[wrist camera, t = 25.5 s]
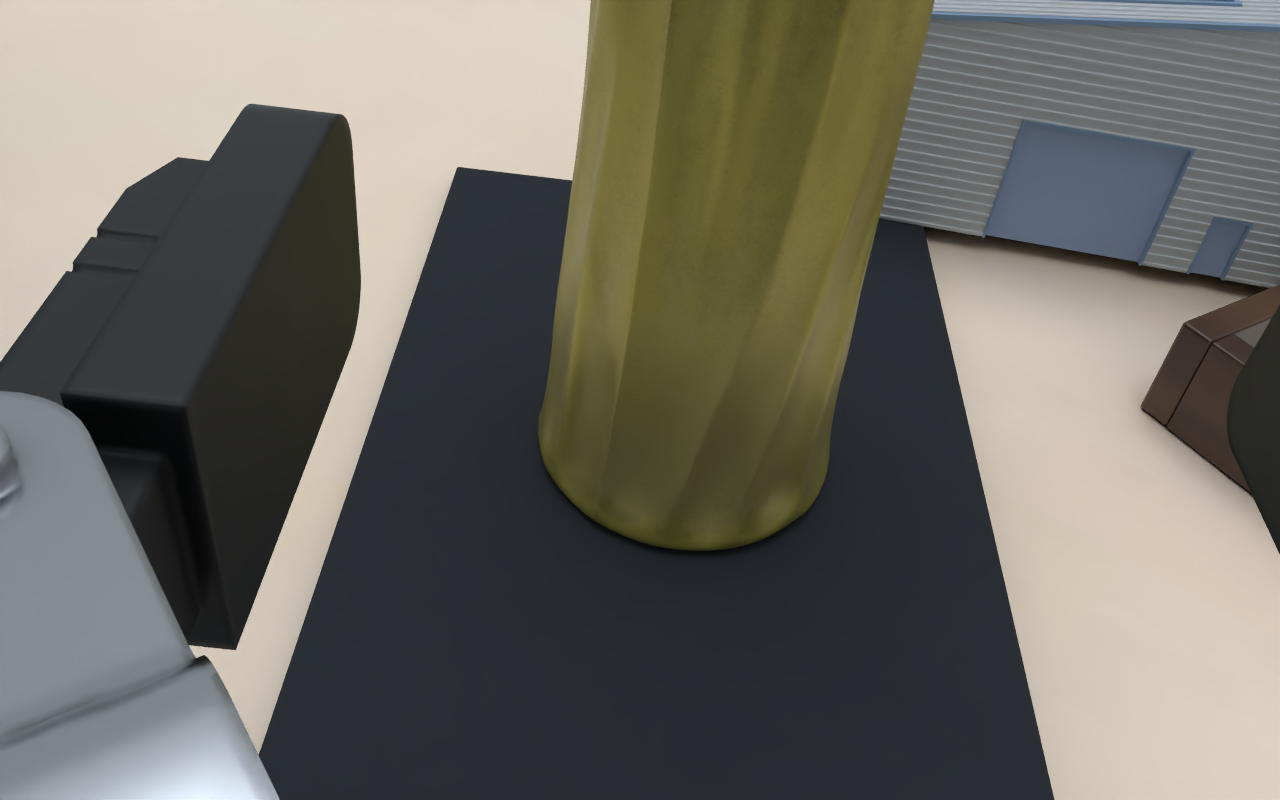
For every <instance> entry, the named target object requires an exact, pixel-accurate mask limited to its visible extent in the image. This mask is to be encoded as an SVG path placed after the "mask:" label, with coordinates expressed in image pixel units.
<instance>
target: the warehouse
mask: <svg viewBox="0 0 1280 800" xmlns="http://www.w3.org/2000/svg"><path fill="white" fill-rule="evenodd" d="M879 218H881V219H886V220H892V221H897V222H903V223H909V224H914V225H920V226H925V227H931V228H937V229H942V230H948V231H953V232H959V233H965V234H970V235H976V236H982V238H985V235H989V236H995V237H1001V238H1006V239H1012V240H1017V241H1023V242H1029V243H1034V244H1040V245H1046V246H1051V247H1057V248H1062V249H1068V250H1074V251H1079V252H1085V253H1090V254H1096V255H1102V256H1107V257H1113V258H1118V259H1124V260H1130V261H1135V262H1138V265H1139V266H1142V265H1144V266H1150V267H1155V268H1161V269H1167V270H1172V271H1178V272H1183V273H1186V274H1190V272H1192V273H1198V274H1203V275H1209V276H1214V277H1220V279H1221V280H1228V281H1234V282H1239V283H1245V284H1251V285H1256V286H1262V287H1267V288H1271V287H1274V286H1276V285H1279V284H1280V0H935V2H934V7H933V11H932V15H931V20H930V24H929V28H928V32H927V37H926V41H925V45H924V49H923V53H922V57H921V61H920V65H919V68H918V72H917V76H916V80H915V84H914V87H913V91H912V95H911V99H910V102H909V106H908V110H907V113H906V117H905V121H904V125H903V129H902V132H901V136H900V140H899V144H898V148H897V152H896V156H895V160H894V164H893V168H892V172H891V176H890V179H889V183H888V187H887V191H886V194H885V198H884V202H883V206H882V209H881V213H880V217H879Z"/></svg>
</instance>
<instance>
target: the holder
mask: <svg viewBox="0 0 1280 800" xmlns="http://www.w3.org/2000/svg"><path fill="white" fill-rule="evenodd" d="M1279 305H1280V284H1279V285H1276V286H1274V287H1271V288H1269V289H1266V290H1264V291H1261V292H1259V293H1257V294H1254V295H1252V296H1249V297H1247V298H1244V299H1242V300H1239V301H1237V302H1234V303H1232V304H1229V305H1227V306H1224V307H1222V308H1219V309H1217V310H1214V311H1212V312H1209V313H1207V314H1204V315H1202V316H1199V317H1197V318H1194V319H1192V320H1189V321H1187V322H1185V323H1184V324H1183V325H1182V327H1181V329H1180V331H1179V333H1178V335H1177V337H1176V339H1175V341H1174V343H1173V345H1172V347H1171V348H1170V350H1169V352H1168V354H1167V356H1166V358H1165V360H1164V362H1163V364H1162V366H1161V368H1160V370H1159V372H1158V374H1157V375H1156V377H1155V379H1154V381H1153V383H1152V385H1151V387H1150V389H1149V391H1148V393H1147V395H1146V397H1145V399H1144V401H1143V402H1142V404H1141V407H1142V408H1143V409H1144V410H1146V411H1147V412H1148V413H1149V414H1151V415H1152V416H1153V417H1155V418H1156V419H1157V420H1158V421H1160V422H1161V423H1162V424H1164V425H1167V428H1168V429H1169V430H1171V431H1172V432H1173V433H1174V434H1176V435H1177V436H1178V437H1180V438H1181V439H1182V440H1183V441H1185V442H1186V443H1187V444H1188V445H1190V446H1191V447H1192V448H1194V449H1195V450H1196V451H1197V452H1199V453H1200V454H1201V455H1203V456H1204V457H1205V458H1206V459H1208V460H1209V461H1210V462H1212V463H1213V464H1214V465H1215V466H1217V467H1218V468H1219V469H1221V470H1222V471H1223V472H1224V473H1226V474H1227V475H1228V476H1229V477H1231V478H1232V479H1233V480H1235V481H1236V482H1237V483H1238V484H1240V485H1241V486H1242V487H1244V488H1245V489H1246V490H1247V491H1249V492H1250V493H1251V491H1250V489H1249V487H1248V485H1247V483H1246V481H1245V479H1244V476H1243V474H1242V472H1241V470H1240V468H1239V466H1238V464H1237V461H1236V459H1235V457H1234V455H1233V453H1232V450H1231V448H1230V444H1229V440H1228V434H1227V410H1228V404H1229V399H1230V395H1231V391H1232V389H1233V386H1234V383H1235V381H1236V379H1237V377H1238V375H1239V373H1240V372H1241V370H1242V368H1243V366H1244V365H1245V363H1246V361H1247V360H1248V358H1249V356H1250V354H1251V353H1252V351H1253V349H1254V348H1255V346H1256V344H1257V342H1258V341H1259V339H1260V337H1261V336H1262V334H1263V332H1264V330H1265V329H1266V327H1267V325H1268V324H1269V322H1270V320H1271V318H1272V317H1273V315H1274V313H1275V312H1276V310H1277V308H1278V306H1279Z"/></svg>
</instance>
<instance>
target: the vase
mask: <svg viewBox="0 0 1280 800" xmlns="http://www.w3.org/2000/svg"><path fill="white" fill-rule="evenodd" d="M934 2H935V0H591V6H590V21H589V34H588V47H587V59H586V70H585V81H584V91H583V101H582V110H581V118H580V126H579V135H578V143H577V152H576V159H575V167H574V173H573V180H572V187H571V194H570V202H569V212H568V219H567V226H566V234H565V241H564V249H563V256H562V263H561V270H560V277H559V284H558V291H557V299H556V307H555V317H554V327H553V339H552V350H551V359H550V367H549V374H548V380H547V386H546V392H545V397H544V401H543V405H542V408H541V412H540V415H539V425H538V438H539V445H540V450H541V454H542V457H543V461H544V464H545V466H546V468H547V470H548V472H549V474H550V476H551V477H552V479H553V481H554V482H555V483H556V485H557V486H558V487H559V488H560V490H561V491H562V492H563V493H564V494H565V495H566V496H567V497H568V499H569V500H570V501H571V502H572V503H573V504H574V505H575V506H577V507H578V508H579V509H580V510H581V511H582V512H583V513H584V514H586V515H587V516H589V517H590V518H591V519H593V520H594V521H596V522H597V523H599V524H601V525H602V526H604V527H606V528H608V529H610V530H612V531H614V532H616V533H619V534H621V535H623V536H626V537H628V538H631V539H633V540H636V541H639V542H642V543H646V544H649V545H653V546H658V547H663V548H669V549H676V550H689V551H711V550H723V549H731V548H737V547H741V546H745V545H748V544H751V543H754V542H757V541H760V540H762V539H764V538H767V537H769V536H771V535H773V534H775V533H776V532H778V531H780V530H781V529H783V528H784V527H786V526H788V525H789V524H790V523H792V522H793V521H795V520H796V519H798V518H799V517H800V516H802V515H803V514H804V513H805V512H806V511H807V510H808V509H809V508H810V506H811V505H812V504H813V502H814V501H815V499H816V498H817V496H818V494H819V492H820V490H821V488H822V486H823V483H824V481H825V477H826V474H827V469H828V463H829V456H830V434H831V428H832V421H833V416H834V410H835V405H836V400H837V395H838V390H839V386H840V382H841V378H842V374H843V371H844V367H845V363H846V359H847V355H848V351H849V346H850V342H851V337H852V333H853V328H854V323H855V318H856V313H857V308H858V303H859V298H860V293H861V289H862V285H863V281H864V277H865V273H866V269H867V265H868V261H869V257H870V253H871V249H872V245H873V241H874V237H875V233H876V228H877V225H878V221H879V217H880V213H881V209H882V206H883V202H884V198H885V194H886V191H887V187H888V183H889V179H890V176H891V172H892V168H893V164H894V160H895V156H896V152H897V148H898V144H899V140H900V136H901V132H902V129H903V125H904V121H905V117H906V113H907V110H908V106H909V102H910V99H911V95H912V91H913V87H914V84H915V80H916V76H917V72H918V68H919V65H920V61H921V57H922V53H923V49H924V45H925V41H926V37H927V32H928V28H929V24H930V20H931V15H932V11H933V7H934Z"/></svg>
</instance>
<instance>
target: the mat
mask: <svg viewBox="0 0 1280 800" xmlns="http://www.w3.org/2000/svg"><path fill="white" fill-rule="evenodd" d="M571 187H572V181H571V180H562V179H554V178H546V177H537V176H529V175H520V174H512V173H504V172H495V171H487V170H478V169H470V168H462V167H458V168H457V170H456V173H455V176H454V179H453V182H452V185H451V187H450V190H449V193H448V196H447V199H446V202H445V205H444V208H443V211H442V214H441V217H440V220H439V223H438V226H437V229H436V232H435V235H434V238H433V241H432V244H431V247H430V250H429V253H428V256H427V259H426V262H425V265H424V267H423V270H422V273H421V276H420V279H419V282H418V285H417V288H416V291H415V294H414V297H413V300H412V303H411V306H410V309H409V312H408V315H407V318H406V321H405V324H404V327H403V330H402V333H401V336H400V339H399V342H398V345H397V347H396V350H395V353H394V356H393V359H392V362H391V365H390V368H389V371H388V374H387V377H386V380H385V383H384V386H383V389H382V392H381V395H380V398H379V401H378V404H377V407H376V410H375V413H374V416H373V419H372V422H371V425H370V427H369V430H368V433H367V436H366V439H365V442H364V445H363V448H362V451H361V454H360V457H359V460H358V463H357V466H356V469H355V472H354V475H353V478H352V481H351V484H350V487H349V490H348V493H347V496H346V499H345V502H344V504H343V507H342V510H341V513H340V516H339V519H338V522H337V525H336V528H335V531H334V534H333V537H332V540H331V543H330V546H329V549H328V552H327V555H326V558H325V561H324V564H323V567H322V570H321V573H320V576H319V579H318V582H317V584H316V587H315V590H314V593H313V596H312V599H311V602H310V605H309V608H308V611H307V614H306V617H305V620H304V623H303V626H302V629H301V632H300V635H299V638H298V641H297V644H296V647H295V650H294V653H293V656H292V659H291V662H290V664H289V667H288V670H287V673H286V676H285V679H284V682H283V685H282V688H281V691H280V694H279V697H278V700H277V703H276V706H275V709H274V712H273V715H272V718H271V721H270V724H269V727H268V730H267V733H266V736H265V739H264V742H263V744H262V747H261V750H260V753H259V758H260V760H261V762H262V764H263V766H264V768H265V770H266V772H267V774H268V776H269V778H270V781H271V783H272V785H273V787H274V789H275V791H276V793H277V795H278V797H279V799H280V800H1054V797H1053V792H1052V788H1051V784H1050V779H1049V775H1048V770H1047V766H1046V762H1045V757H1044V753H1043V749H1042V744H1041V740H1040V735H1039V731H1038V727H1037V722H1036V718H1035V714H1034V709H1033V705H1032V700H1031V696H1030V692H1029V687H1028V683H1027V679H1026V674H1025V670H1024V665H1023V661H1022V657H1021V652H1020V648H1019V644H1018V639H1017V635H1016V630H1015V626H1014V622H1013V617H1012V613H1011V609H1010V604H1009V600H1008V595H1007V591H1006V587H1005V582H1004V578H1003V574H1002V569H1001V565H1000V560H999V556H998V552H997V547H996V543H995V539H994V534H993V530H992V525H991V521H990V517H989V512H988V508H987V504H986V499H985V495H984V490H983V486H982V482H981V477H980V473H979V469H978V464H977V460H976V455H975V451H974V447H973V442H972V438H971V434H970V429H969V425H968V420H967V416H966V412H965V407H964V403H963V399H962V394H961V390H960V385H959V381H958V377H957V372H956V368H955V364H954V359H953V355H952V350H951V346H950V342H949V337H948V333H947V329H946V324H945V320H944V315H943V311H942V307H941V302H940V298H939V294H938V289H937V285H936V280H935V276H934V272H933V267H932V263H931V259H930V254H929V250H928V245H927V241H926V237H925V232H924V228H923V226H920V225H914V224H909V223H903V222H897V221H892V220H886V219H881V218H879V221H878V225H877V228H876V233H875V237H874V241H873V245H872V249H871V253H870V257H869V261H868V265H867V269H866V273H865V277H864V281H863V285H862V289H861V293H860V298H859V303H858V308H857V313H856V318H855V323H854V328H853V333H852V337H851V342H850V346H849V351H848V355H847V359H846V363H845V367H844V371H843V374H842V378H841V382H840V386H839V390H838V395H837V400H836V405H835V410H834V416H833V421H832V428H831V434H830V456H829V463H828V469H827V474H826V477H825V481H824V483H823V486H822V488H821V490H820V492H819V494H818V496H817V498H816V499H815V501H814V502H813V504H812V505H811V506H810V508H809V509H808V510H807V511H806V512H805V513H804V514H803V515H802V516H800V517H799V518H798V519H796V520H795V521H793V522H792V523H790V524H789V525H788V526H786V527H784V528H783V529H781V530H780V531H778V532H776V533H775V534H773V535H771V536H769V537H767V538H764V539H762V540H760V541H757V542H754V543H751V544H748V545H745V546H741V547H737V548H731V549H723V550H711V551H689V550H676V549H669V548H663V547H658V546H653V545H649V544H646V543H642V542H639V541H636V540H633V539H631V538H628V537H626V536H623V535H621V534H619V533H616V532H614V531H612V530H610V529H608V528H606V527H604V526H602V525H601V524H599V523H597V522H596V521H594V520H593V519H591V518H590V517H589V516H587V515H586V514H584V513H583V512H582V511H581V510H580V509H579V508H578V507H577V506H575V505H574V504H573V503H572V502H571V501H570V500H569V499H568V497H567V496H566V495H565V494H564V493H563V492H562V491H561V490H560V488H559V487H558V486H557V485H556V483H555V482H554V481H553V479H552V477H551V476H550V474H549V472H548V470H547V468H546V466H545V464H544V461H543V457H542V454H541V450H540V445H539V438H538V425H539V415H540V412H541V408H542V405H543V401H544V397H545V392H546V386H547V380H548V374H549V367H550V359H551V350H552V339H553V327H554V317H555V307H556V299H557V291H558V284H559V277H560V270H561V263H562V256H563V249H564V241H565V234H566V226H567V219H568V212H569V202H570V194H571Z"/></svg>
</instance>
